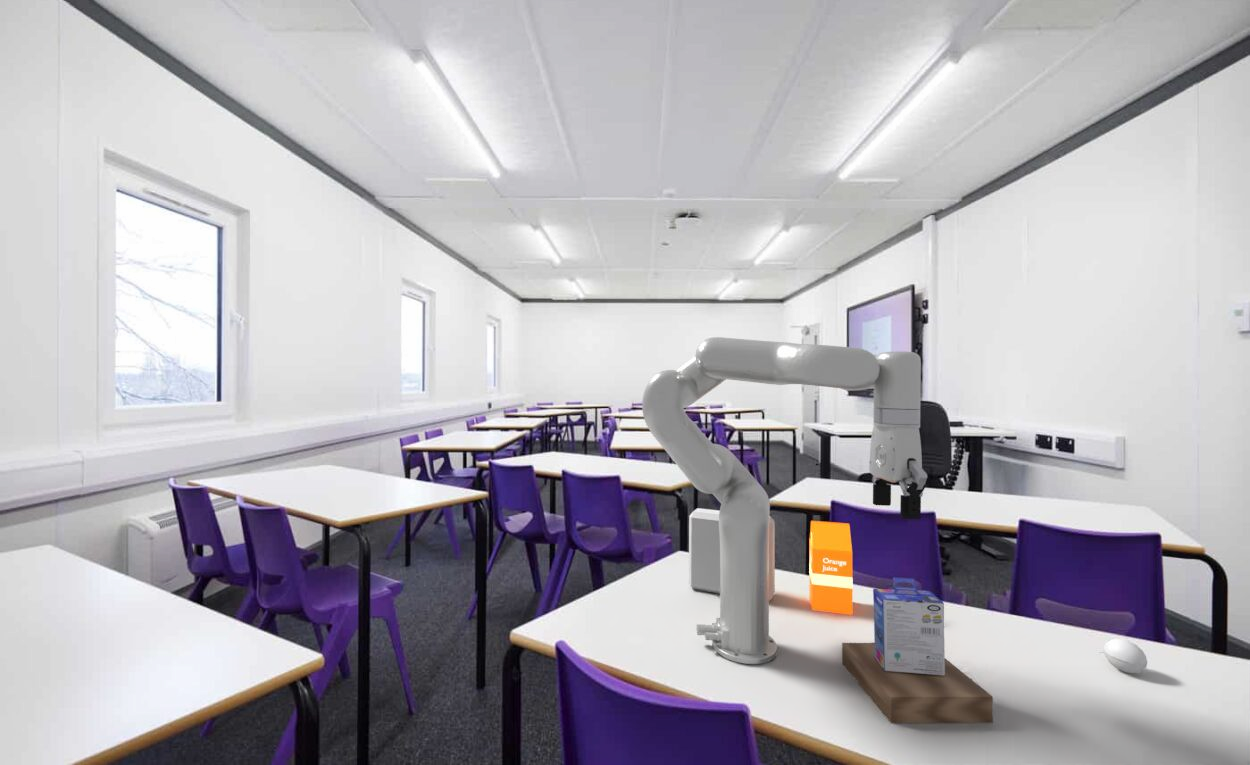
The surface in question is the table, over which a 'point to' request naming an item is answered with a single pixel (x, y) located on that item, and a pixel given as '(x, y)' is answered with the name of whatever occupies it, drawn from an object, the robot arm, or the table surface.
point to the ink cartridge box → (909, 629)
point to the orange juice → (830, 567)
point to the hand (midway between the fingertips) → (895, 511)
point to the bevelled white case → (715, 551)
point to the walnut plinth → (918, 691)
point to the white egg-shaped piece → (1125, 656)
